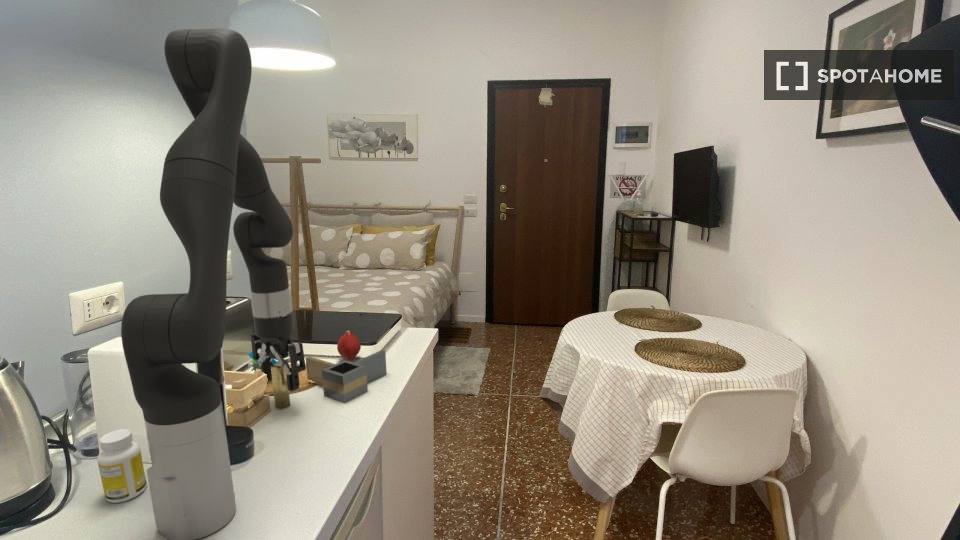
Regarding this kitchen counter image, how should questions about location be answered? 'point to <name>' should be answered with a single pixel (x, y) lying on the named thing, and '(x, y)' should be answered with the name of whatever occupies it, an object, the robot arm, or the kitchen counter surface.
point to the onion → (348, 346)
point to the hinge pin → (280, 386)
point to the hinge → (346, 375)
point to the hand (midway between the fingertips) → (281, 384)
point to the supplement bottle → (121, 466)
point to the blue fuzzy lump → (256, 364)
